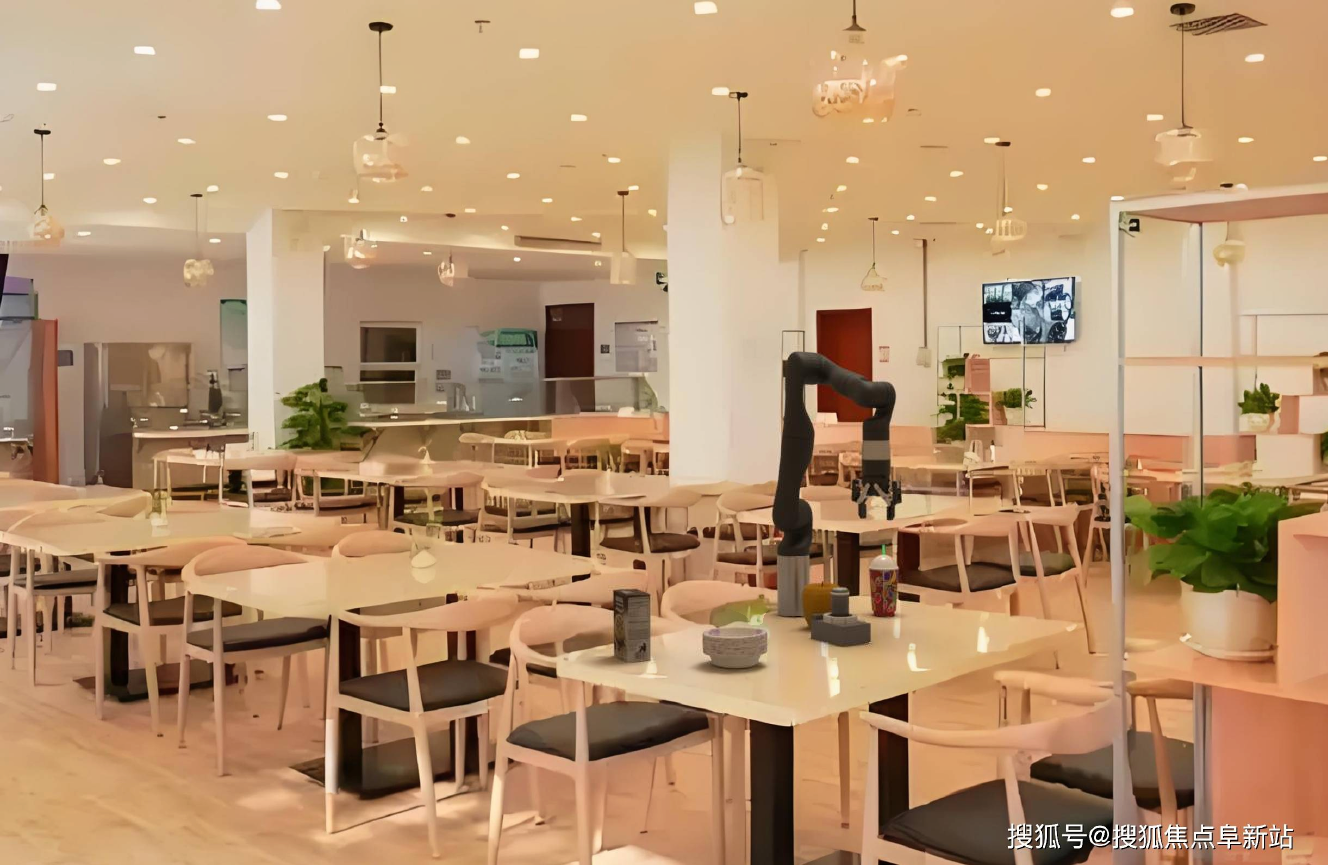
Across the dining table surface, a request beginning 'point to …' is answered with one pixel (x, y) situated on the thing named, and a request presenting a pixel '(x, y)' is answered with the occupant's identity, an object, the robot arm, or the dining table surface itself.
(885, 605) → the smoothie
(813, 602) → the apple
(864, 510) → the robot arm
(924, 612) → the dining table surface
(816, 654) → the dining table surface
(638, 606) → the coffee box
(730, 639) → the paper bowls
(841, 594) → the lens
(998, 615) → the dining table surface
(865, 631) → the camera body
